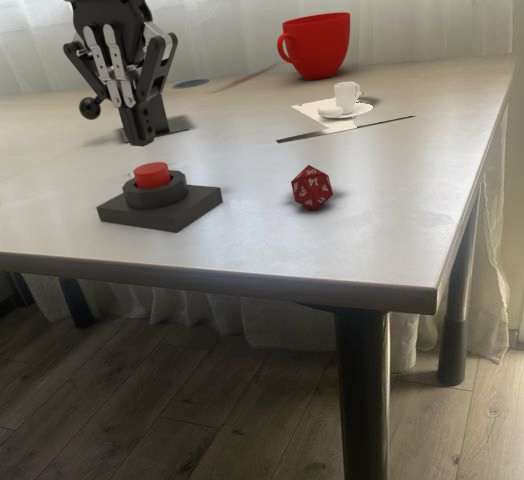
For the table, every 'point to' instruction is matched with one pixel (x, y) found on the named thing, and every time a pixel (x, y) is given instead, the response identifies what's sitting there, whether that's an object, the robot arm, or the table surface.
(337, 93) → the teacup and saucer
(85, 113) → the switch lever
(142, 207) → the grey button base
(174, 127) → the switch bracket
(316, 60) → the ceramic cup
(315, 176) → the dice
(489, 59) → the table surface
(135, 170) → the stop button
